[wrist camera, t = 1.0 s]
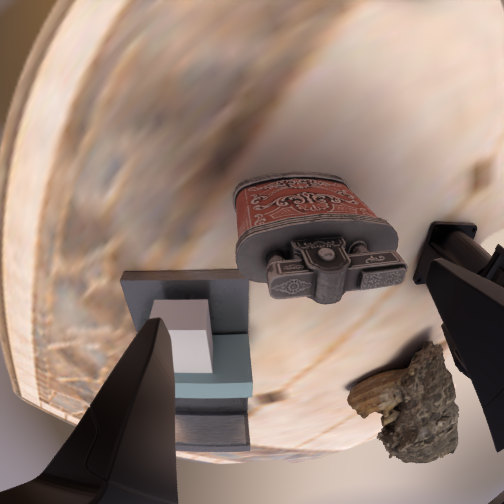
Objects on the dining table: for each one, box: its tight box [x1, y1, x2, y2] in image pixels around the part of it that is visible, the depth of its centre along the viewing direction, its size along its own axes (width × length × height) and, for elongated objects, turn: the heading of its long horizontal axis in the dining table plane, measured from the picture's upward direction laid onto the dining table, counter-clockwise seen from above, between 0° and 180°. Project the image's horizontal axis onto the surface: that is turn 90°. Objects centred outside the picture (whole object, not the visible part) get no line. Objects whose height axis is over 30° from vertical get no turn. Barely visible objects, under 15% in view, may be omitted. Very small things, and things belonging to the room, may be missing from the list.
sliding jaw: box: [136, 299, 253, 398], centre depth 21 cm, size 10×8×5 cm
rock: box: [347, 341, 459, 463], centre depth 28 cm, size 18×14×15 cm
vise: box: [120, 269, 250, 452], centre depth 26 cm, size 10×26×6 cm, turn 179°
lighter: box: [233, 172, 407, 304], centre depth 15 cm, size 8×3×10 cm, turn 93°
